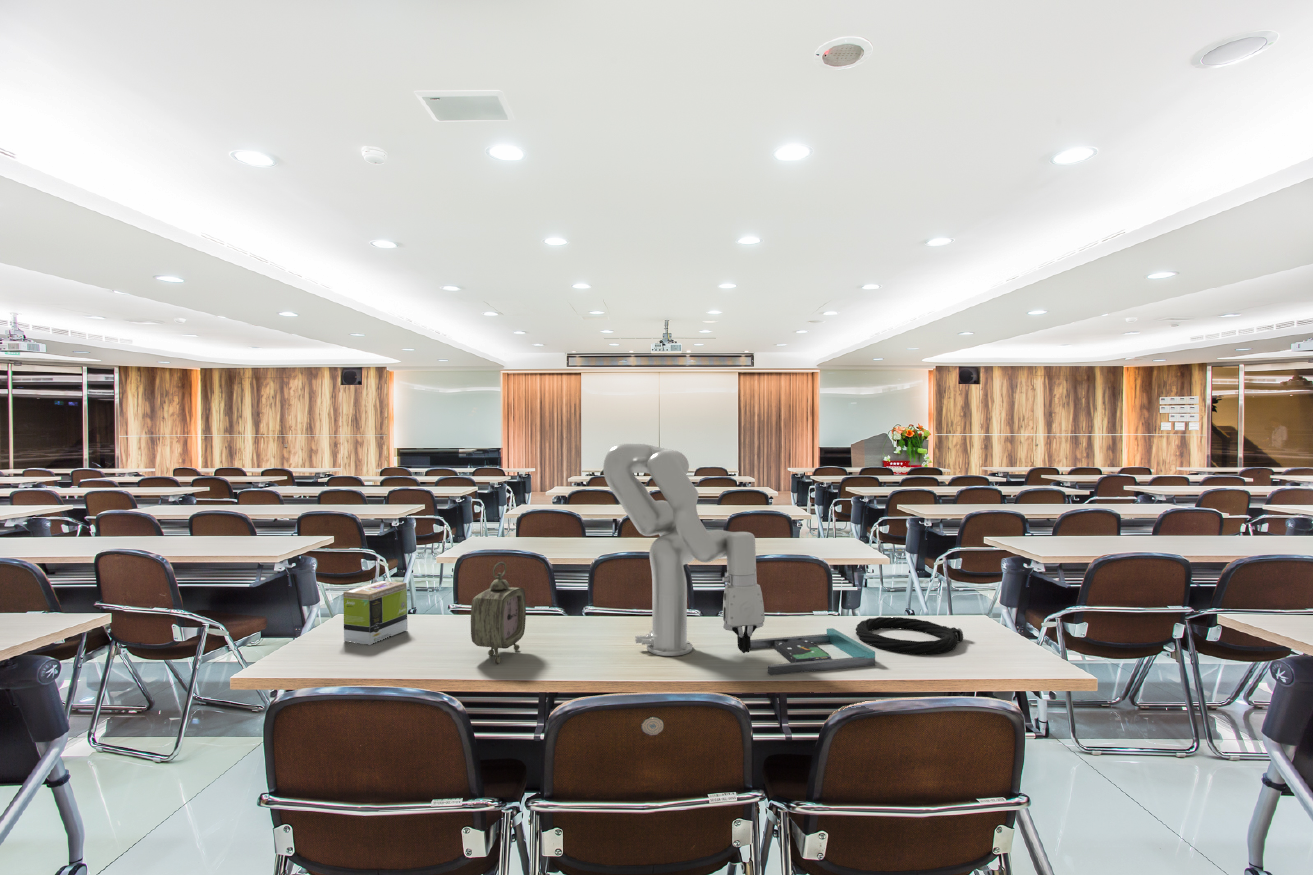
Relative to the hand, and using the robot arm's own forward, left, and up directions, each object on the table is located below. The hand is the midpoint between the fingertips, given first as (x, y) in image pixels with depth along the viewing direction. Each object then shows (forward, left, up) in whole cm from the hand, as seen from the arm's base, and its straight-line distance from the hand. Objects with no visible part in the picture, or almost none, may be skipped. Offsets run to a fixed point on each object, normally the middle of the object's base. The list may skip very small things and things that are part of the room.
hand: (744, 651), depth 160 cm
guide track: (+17, +1, -3) cm, 18 cm away
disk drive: (+17, +1, -4) cm, 17 cm away
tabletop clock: (-62, +20, -3) cm, 65 cm away
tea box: (-97, +46, -3) cm, 107 cm away
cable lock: (+54, +7, -4) cm, 54 cm away
